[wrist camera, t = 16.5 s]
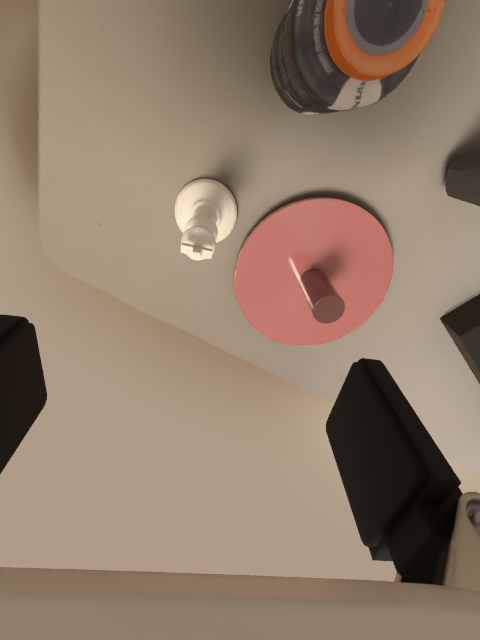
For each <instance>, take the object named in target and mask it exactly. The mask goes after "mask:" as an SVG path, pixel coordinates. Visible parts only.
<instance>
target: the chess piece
mask: <svg viewBox="0 0 480 640" xmlns="http://www.w3.org/2000/svg"><path fill="white" fill-rule="evenodd" d="M175 218H176V222H177V224H178V226H179V228H180V230H181V231H182V232H183V233H184V234H183V236H182V239H181V245H182V246H181V253H185V254H186V255H187V256H189V257H190V258H191V259H193V260H198V261H199V260H204V259H207V258H209V259H211V256H212V254H213V252H214V251H215V247H216V243H217V242H219V241H221V240H223V239H224V238H226V237H227V236H228V235H229V234H230V232H231V231H232V229H233V228H234V226H235V223H236V220H237V205H236V202H235V199H234V197H233V195H232V194H231V192H230V191H229V190H228V189H227V188H226V187H225V186H224V185H223V184H221V183H219V182H217V181H215V180H211V179H198V180H195V181H192V182H190V183H189V184H187V185H186V186H185V187H184V188H183V189H182V190H181V191H180V193H179V194H178V196H177V199H176V203H175Z"/></svg>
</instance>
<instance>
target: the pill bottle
mask: <svg viewBox="0 0 480 640" xmlns="http://www.w3.org/2000/svg"><path fill="white" fill-rule="evenodd" d="M444 4H445V0H292V2H291V4H290V6H289V8H288V10H287V12H286V14H285V16H284V17H283V19H282V21H281V23H280V25H279V27H278V30H277V32H276V34H275V37H274V40H273V44H272V49H271V57H270V68H271V77H272V81H273V84H274V87H275V90H276V91H277V92H278V94H279V96H280V98H281V99H282V101H283V102H284V103H285V104H286V105H287V106H288V107H289V108H291V109H292V110H294V111H296V112H298V113H301V114H306V115H317V114H324V113H330V112H337V111H346V110H351V109H356V108H361V107H364V106H367V105H370V104H372V103H374V102H377V101H379V100H380V99H382V98H384V97H385V96H386V95H387V94H389V93H390V92H391V91H392V90H394V89H395V88H396V87H397V86H398V85H399V84H400V82H401V81H402V80H403V79H404V78H405V77H406V75H407V74H408V73H409V71H410V70H411V68H412V67H413V65H414V63H415V62H416V60H417V58H418V56H419V54H420V53H421V52H422V51H423V49H424V48H425V46H426V45H427V44H428V42H429V41H430V39H431V37H432V36H433V34H434V32H435V30H436V28H437V26H438V24H439V21H440V19H441V16H442V12H443V8H444Z"/></svg>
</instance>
